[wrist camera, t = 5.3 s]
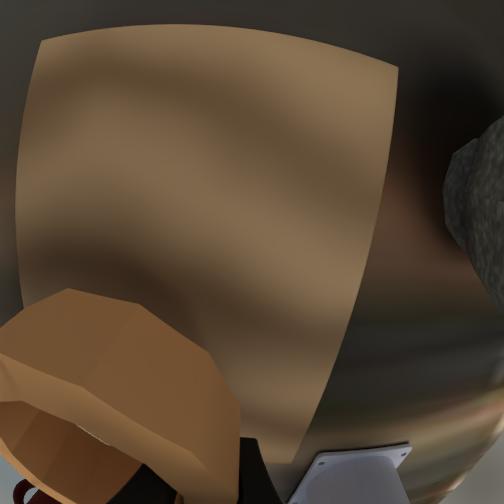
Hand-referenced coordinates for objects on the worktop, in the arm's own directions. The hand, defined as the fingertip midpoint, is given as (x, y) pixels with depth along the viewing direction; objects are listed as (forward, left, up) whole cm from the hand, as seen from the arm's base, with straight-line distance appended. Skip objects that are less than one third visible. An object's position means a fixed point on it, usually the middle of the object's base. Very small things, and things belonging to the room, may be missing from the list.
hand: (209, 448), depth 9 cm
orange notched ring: (0, +4, -1) cm, 4 cm away
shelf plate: (+4, +3, -5) cm, 7 cm away
